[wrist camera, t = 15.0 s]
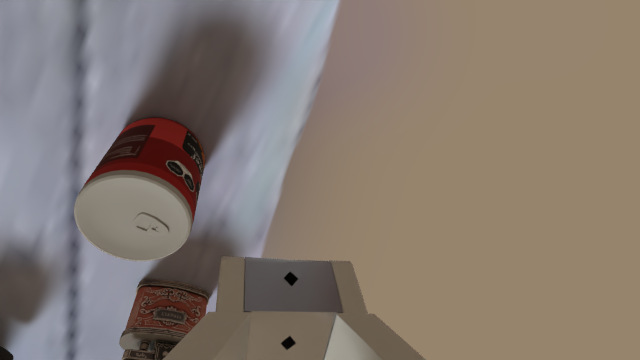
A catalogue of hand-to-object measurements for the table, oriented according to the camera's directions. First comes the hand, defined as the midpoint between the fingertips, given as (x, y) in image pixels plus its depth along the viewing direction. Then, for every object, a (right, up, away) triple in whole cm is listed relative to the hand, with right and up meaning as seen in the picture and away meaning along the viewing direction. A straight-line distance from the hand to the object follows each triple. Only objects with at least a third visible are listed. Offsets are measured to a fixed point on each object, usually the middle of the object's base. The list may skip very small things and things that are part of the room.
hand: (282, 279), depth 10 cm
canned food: (-14, +5, +29) cm, 33 cm away
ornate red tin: (-16, -11, +38) cm, 43 cm away
